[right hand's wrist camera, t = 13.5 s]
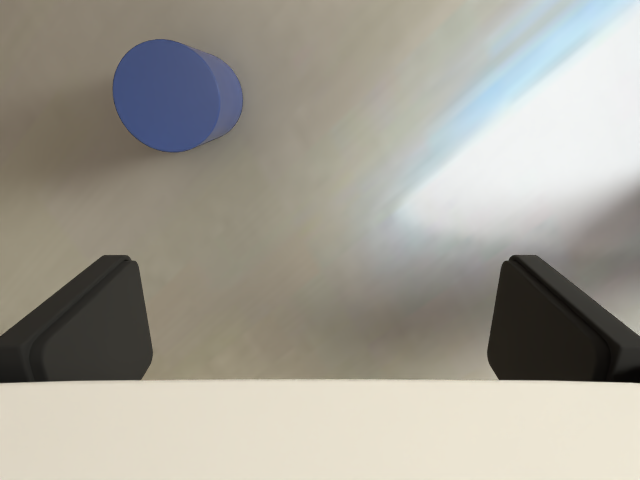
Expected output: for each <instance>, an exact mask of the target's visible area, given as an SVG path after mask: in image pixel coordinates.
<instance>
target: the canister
mask: <svg viewBox="0 0 640 480" xmlns="http://www.w3.org/2000/svg"><path fill="white" fill-rule="evenodd" d="M113 98H114V103H115V107H116V110H117V113H118V115H119V117H120V119H121V121H122V123H123V124H124V125H125V127H126V128H127V129H128V131H129V132H130V133H131V134H132V135H133V136H134V137H135V138H136V139H138V140H139V141H140V142H142V143H143V144H145V145H147V146H149V147H151V148H153V149H156V150H159V151H163V152H183V151H187V150H190V149H192V148H195V147H197V146H200V145H202V144H204V143H207V142H209V141H211V140H214V139H216V138H218V137H221V136H223V135H224V134H226V133H227V132H229V131H230V130H231V129H232V128H233V127H234V126H235V124H236V123H237V121H238V119H239V117H240V114H241V111H242V105H243V95H242V89H241V86H240V83H239V81H238V78H237V77H236V75H235V73H234V72H233V71H232V69H231V68H230V67H229V66H228V65H227V64H226V63H225V62H223V61H222V60H221V59H219V58H217V57H215V56H213V55H211V54H208V53H205V52H203V51H200V50H197V49H195V48H192V47H189V46H187V45H184V44H181V43H179V42H175V41H172V40H165V39H155V40H149V41H146V42H143V43H141V44H138V45H136V46H135V47H134V48H132V49H131V50H130V51H128V52H127V53H126V54H125V56H124V57H123V58H122V60H121V61H120V63H119V65H118V67H117V69H116V72H115V75H114V80H113Z"/></svg>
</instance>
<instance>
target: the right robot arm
mask: <svg viewBox="0 0 640 480" xmlns="http://www.w3.org/2000/svg"><path fill="white" fill-rule="evenodd" d="M152 356H153V350H152V343H151V337H150V331H149V325H148V319H147V313H146V307H145V302H144V296H143V290H142V284H141V278H140V272H139V267H138V264H137V262H136V261H131V259H130V257H129V256H127V255H104V256H102V257H100V258H99V259H98V260H97V261H95V262H94V263H93V264H91V265H90V266H89V267H88V268H86V269H85V270H84V271H83V272H81V273H80V274H79V275H78V276H76V277H75V278H74V279H72V280H71V281H70V282H69V283H67V284H66V285H65V286H64V287H62V288H61V289H60V290H59V291H57V292H56V293H55V294H53V295H52V296H51V297H50V298H48V299H47V300H46V301H45V302H43V303H42V304H41V305H40V306H38V307H37V308H36V309H34V310H33V311H32V312H31V313H29V314H28V315H27V316H26V317H24V318H23V319H22V320H20V321H19V322H18V323H17V324H15V325H14V326H13V327H12V328H10V329H9V330H8V331H7V332H5V333H4V334H3V335H1V336H0V480H640V336H639V335H637V334H636V333H635V332H633V331H632V330H631V329H630V328H628V327H627V326H626V325H625V324H623V323H622V322H621V321H620V320H618V319H617V318H616V317H614V316H613V315H612V314H611V313H609V312H608V311H607V310H606V309H604V308H603V307H602V306H600V305H599V304H598V303H597V302H595V301H594V300H593V299H592V298H590V297H589V296H588V295H587V294H585V293H584V292H583V291H581V290H580V289H579V288H578V287H576V286H575V285H574V284H573V283H571V282H570V281H569V280H568V279H566V278H565V277H564V276H562V275H561V274H560V273H559V272H557V271H556V270H555V269H554V268H552V267H551V266H550V265H548V264H547V263H546V262H545V261H543V260H542V259H541V258H540V257H538V256H536V255H513V256H511V257H510V259H509V261H504V262H503V264H502V267H501V272H500V278H499V284H498V290H497V296H496V302H495V307H494V313H493V319H492V325H491V331H490V337H489V343H488V350H487V356H488V361H489V364H490V366H491V368H492V369H493V371H494V372H495V374H496V376H497V377H498V379H499V380H419V379H207V380H141V379H142V377H143V376H144V374H145V372H146V371H147V369H148V368H149V366H150V364H151V361H152Z"/></svg>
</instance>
